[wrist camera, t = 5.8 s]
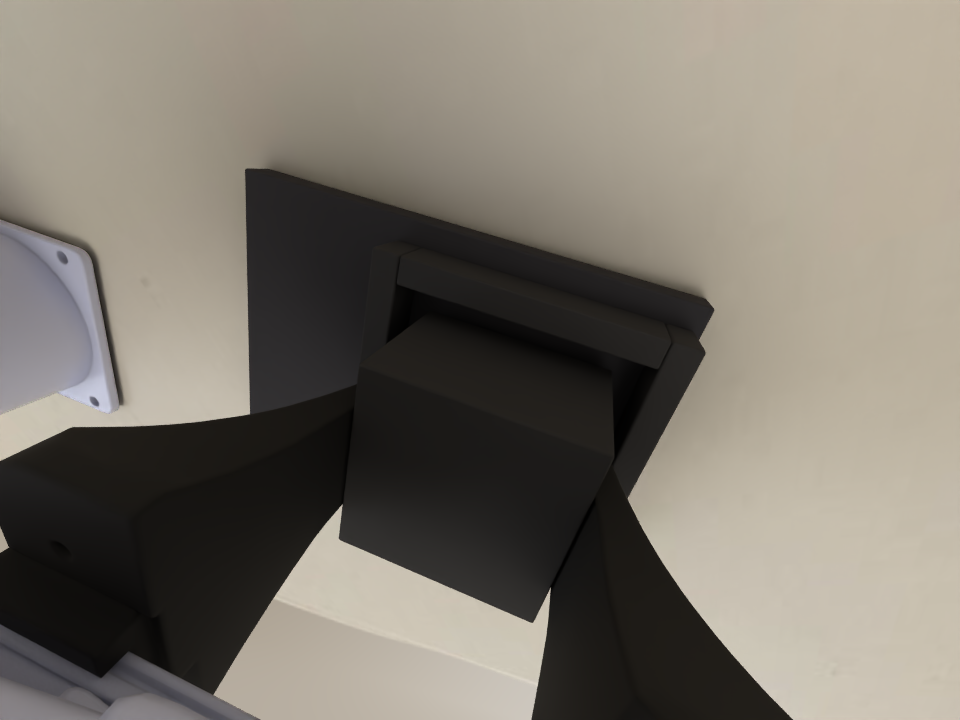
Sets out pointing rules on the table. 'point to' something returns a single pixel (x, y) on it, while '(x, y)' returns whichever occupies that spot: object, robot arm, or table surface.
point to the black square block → (475, 459)
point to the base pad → (447, 304)
